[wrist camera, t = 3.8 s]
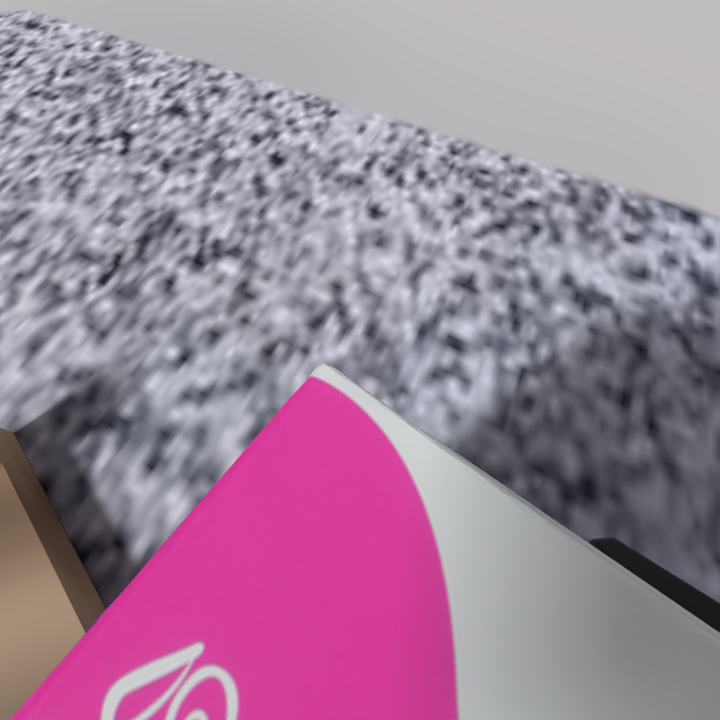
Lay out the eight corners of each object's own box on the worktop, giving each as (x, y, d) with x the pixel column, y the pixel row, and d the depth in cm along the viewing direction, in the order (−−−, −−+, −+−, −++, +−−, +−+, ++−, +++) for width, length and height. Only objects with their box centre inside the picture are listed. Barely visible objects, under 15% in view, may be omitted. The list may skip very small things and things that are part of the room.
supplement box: (382, 490, 16) (329, 336, 5) (535, 613, 14) (916, 743, 3) (268, 640, 14) (-111, 826, 4) (423, 803, 12) (503, 2097, 2)
